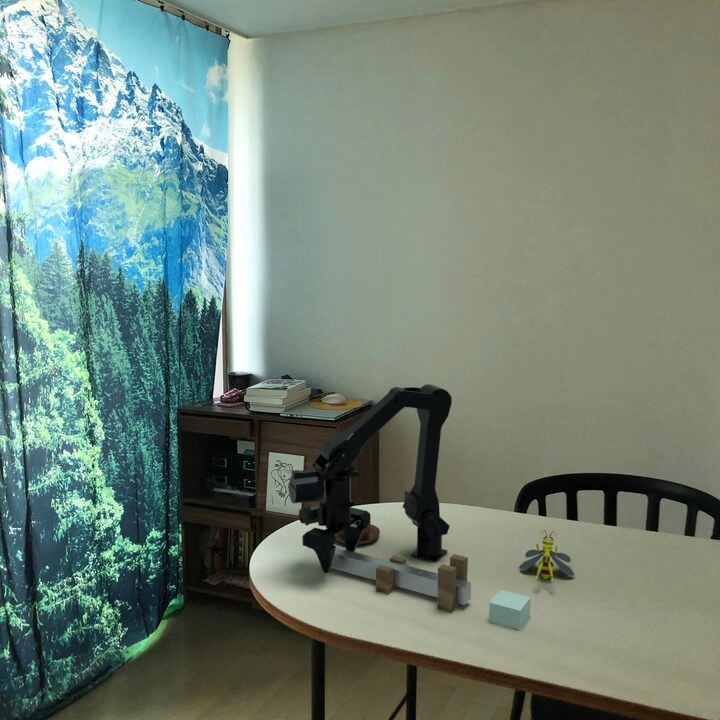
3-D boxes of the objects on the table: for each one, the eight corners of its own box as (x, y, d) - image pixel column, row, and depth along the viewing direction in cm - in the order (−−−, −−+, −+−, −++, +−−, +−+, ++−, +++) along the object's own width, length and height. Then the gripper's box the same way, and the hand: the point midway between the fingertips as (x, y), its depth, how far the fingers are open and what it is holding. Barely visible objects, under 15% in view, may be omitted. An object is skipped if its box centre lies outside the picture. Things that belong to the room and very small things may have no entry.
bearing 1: (393, 576, 153) (394, 554, 152) (406, 580, 151) (406, 558, 151) (376, 591, 146) (376, 568, 146) (388, 594, 145) (388, 571, 144)
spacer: (530, 597, 136) (530, 616, 136) (500, 589, 139) (500, 608, 140) (520, 610, 131) (519, 630, 131) (489, 602, 134) (489, 622, 134)
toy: (515, 557, 145) (522, 524, 159) (514, 594, 147) (521, 558, 161) (574, 565, 142) (576, 530, 156) (573, 602, 144) (574, 565, 158)
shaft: (332, 560, 159) (332, 544, 158) (471, 598, 141) (472, 580, 141) (322, 567, 156) (321, 550, 155) (463, 607, 138) (464, 588, 137)
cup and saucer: (323, 544, 171) (322, 519, 170) (342, 526, 182) (342, 503, 181) (369, 552, 166) (369, 527, 165) (386, 533, 177) (387, 509, 176)
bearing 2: (453, 593, 146) (454, 553, 144) (466, 596, 144) (467, 557, 143) (437, 608, 139) (437, 567, 138) (451, 612, 138) (452, 571, 136)
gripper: (330, 479, 165) (331, 542, 168) (281, 503, 150) (282, 572, 152) (371, 487, 160) (371, 553, 162) (324, 513, 144) (325, 585, 146)
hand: (338, 565), depth 156 cm, fingers open, 9 cm apart
